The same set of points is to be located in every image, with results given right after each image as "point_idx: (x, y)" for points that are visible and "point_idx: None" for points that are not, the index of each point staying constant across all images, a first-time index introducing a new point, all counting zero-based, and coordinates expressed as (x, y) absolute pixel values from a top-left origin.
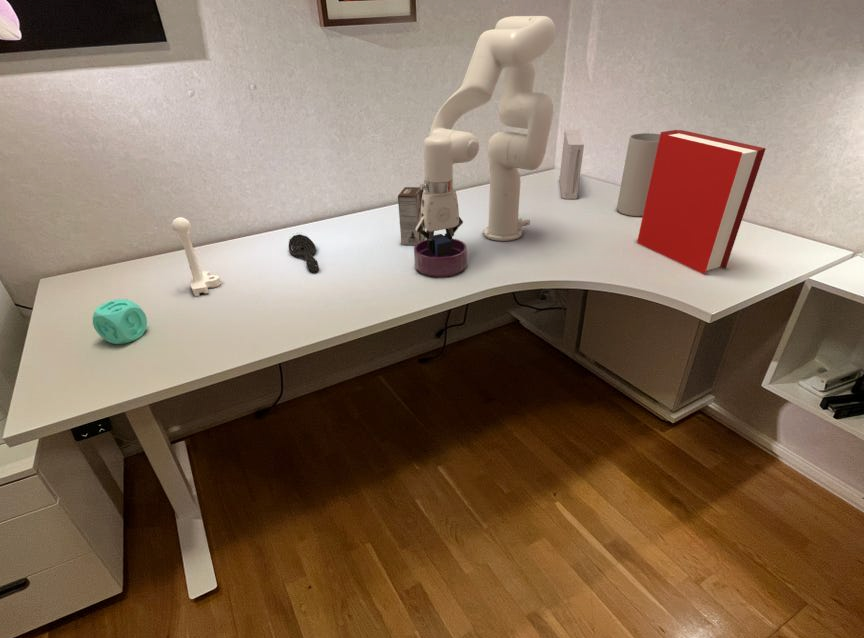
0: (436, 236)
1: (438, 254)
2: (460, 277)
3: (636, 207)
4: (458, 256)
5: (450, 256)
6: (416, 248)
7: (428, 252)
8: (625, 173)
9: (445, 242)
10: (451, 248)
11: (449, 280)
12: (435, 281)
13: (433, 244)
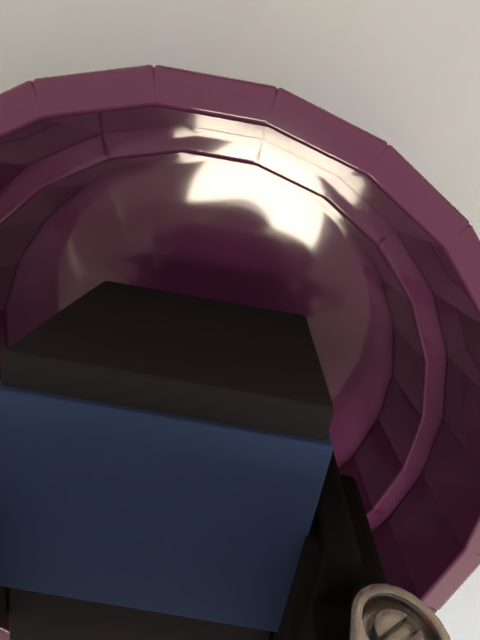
0: None
1: (305, 326)
2: (179, 53)
3: None
4: (90, 79)
5: (228, 112)
6: None
7: None
8: None
9: (140, 400)
10: (77, 306)
11: (305, 67)
12: (420, 140)
13: (330, 499)
